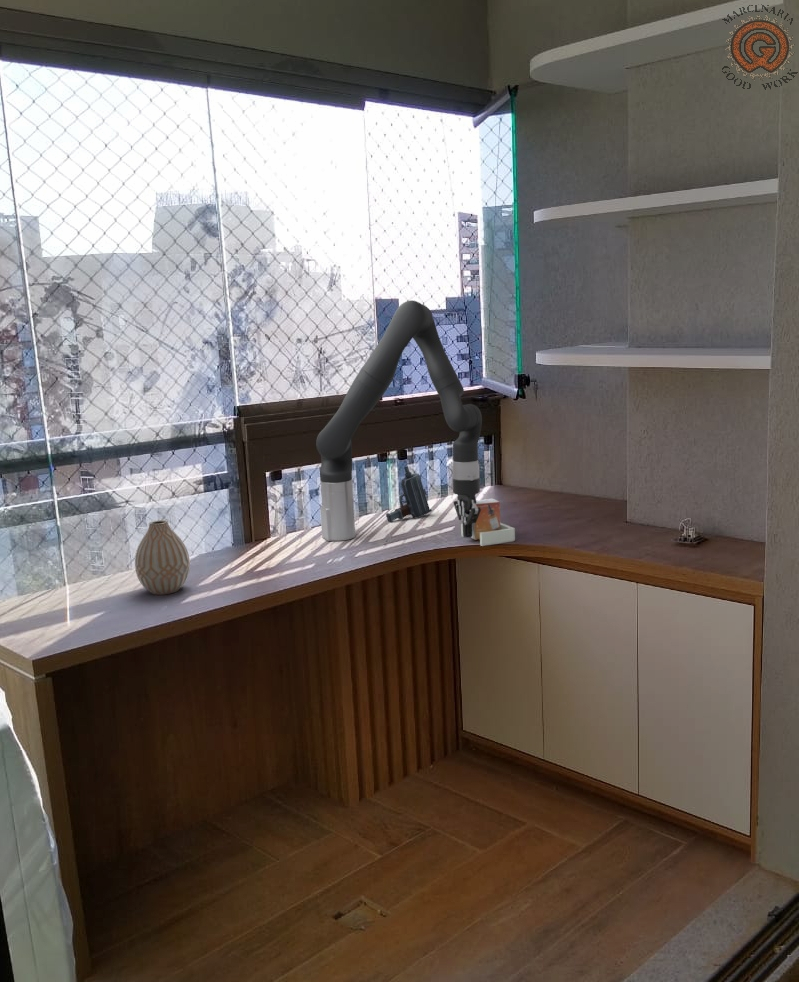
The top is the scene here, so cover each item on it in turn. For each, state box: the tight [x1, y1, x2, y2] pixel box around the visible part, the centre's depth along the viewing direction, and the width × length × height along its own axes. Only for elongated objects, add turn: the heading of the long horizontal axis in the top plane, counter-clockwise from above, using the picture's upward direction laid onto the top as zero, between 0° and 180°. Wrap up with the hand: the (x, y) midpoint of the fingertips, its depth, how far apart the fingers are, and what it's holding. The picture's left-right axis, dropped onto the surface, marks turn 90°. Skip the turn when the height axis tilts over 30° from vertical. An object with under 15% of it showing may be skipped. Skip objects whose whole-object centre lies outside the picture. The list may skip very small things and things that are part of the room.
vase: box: [134, 519, 191, 596], centre depth 233 cm, size 13×13×18 cm
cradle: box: [460, 522, 516, 547], centre depth 271 cm, size 11×13×4 cm
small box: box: [470, 498, 501, 541], centre depth 272 cm, size 8×6×10 cm
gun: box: [385, 465, 433, 523], centre depth 299 cm, size 3×17×15 cm
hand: (467, 536), depth 269 cm, fingers closed
